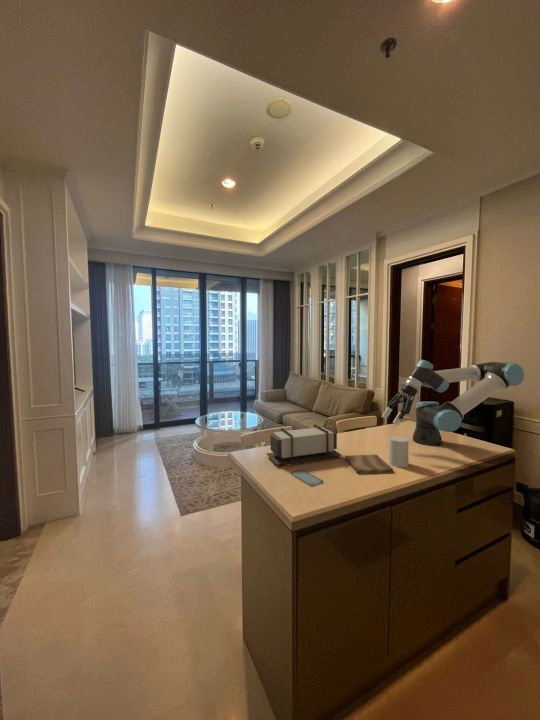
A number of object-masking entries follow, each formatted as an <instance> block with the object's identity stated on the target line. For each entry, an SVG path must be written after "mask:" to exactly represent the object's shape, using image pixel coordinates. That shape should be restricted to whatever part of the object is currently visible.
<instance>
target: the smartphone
mask: <svg viewBox="0 0 540 720" xmlns="http://www.w3.org/2000/svg"><path fill="white" fill-rule="evenodd" d="M290 474H291V475H290ZM289 475H290V476H292V477H293V476H294V478H295V479H297V480H298V481H300V482H302V483H303V484H305V485H307V486H308V487H314V486H317V485H321V484H324V480H323V479H321V478H319V477H317V476H315V475H313V474H312V473H309V472H308V471H306V470H304V469H299V470H294V471H291V472H290V473H289Z"/></svg>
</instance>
